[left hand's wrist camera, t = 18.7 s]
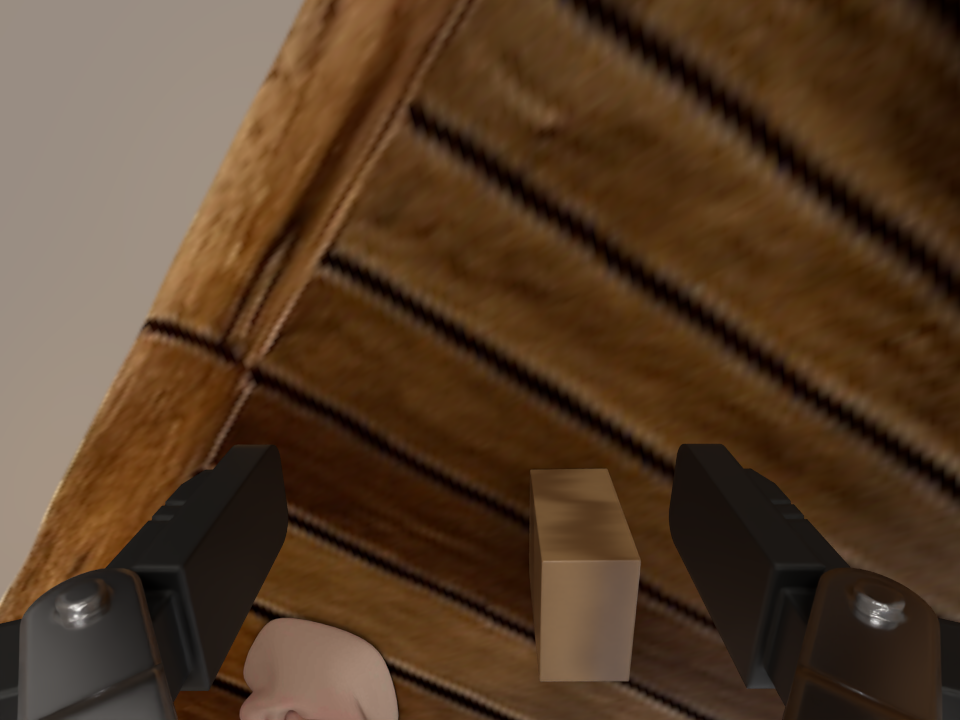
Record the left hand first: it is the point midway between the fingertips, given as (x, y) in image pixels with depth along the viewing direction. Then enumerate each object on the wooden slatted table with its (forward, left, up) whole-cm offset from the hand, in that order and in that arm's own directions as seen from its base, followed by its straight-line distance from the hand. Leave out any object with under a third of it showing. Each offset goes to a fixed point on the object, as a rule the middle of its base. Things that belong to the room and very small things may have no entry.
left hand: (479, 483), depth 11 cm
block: (+10, +14, -21) cm, 27 cm away
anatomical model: (+32, +10, -21) cm, 40 cm away
